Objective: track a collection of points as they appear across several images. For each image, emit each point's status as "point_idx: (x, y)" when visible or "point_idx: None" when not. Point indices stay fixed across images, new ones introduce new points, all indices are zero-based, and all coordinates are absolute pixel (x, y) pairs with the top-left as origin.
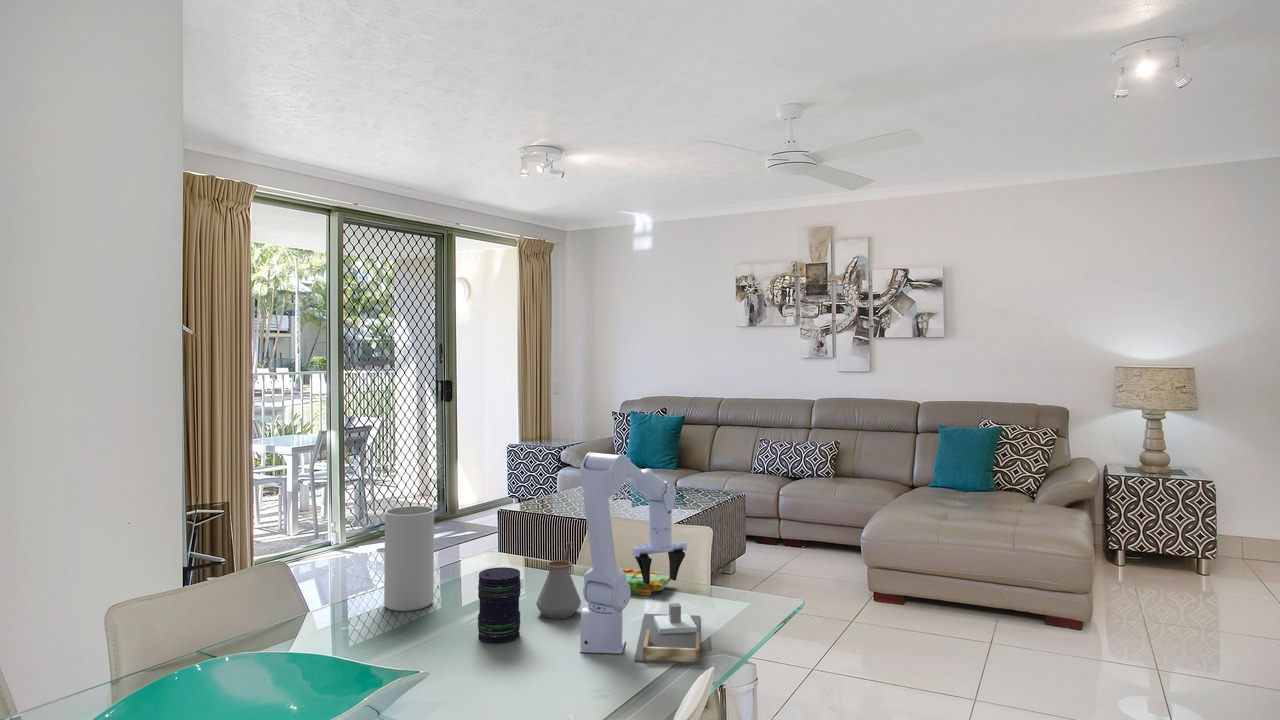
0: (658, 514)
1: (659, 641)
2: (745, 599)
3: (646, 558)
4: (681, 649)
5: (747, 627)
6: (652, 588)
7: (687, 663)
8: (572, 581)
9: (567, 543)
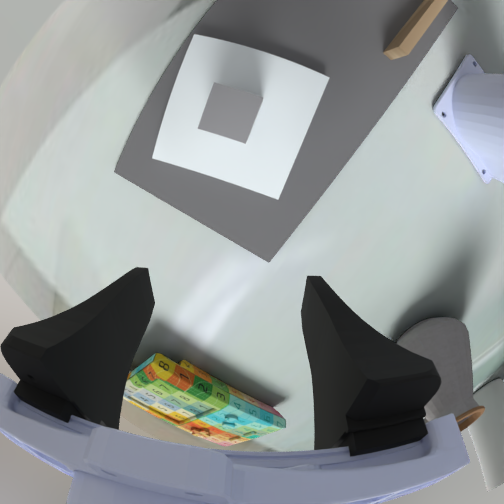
0: None
1: (358, 33)
2: (5, 242)
3: (408, 393)
4: None
5: (52, 59)
6: (178, 367)
7: None
8: None
9: None
